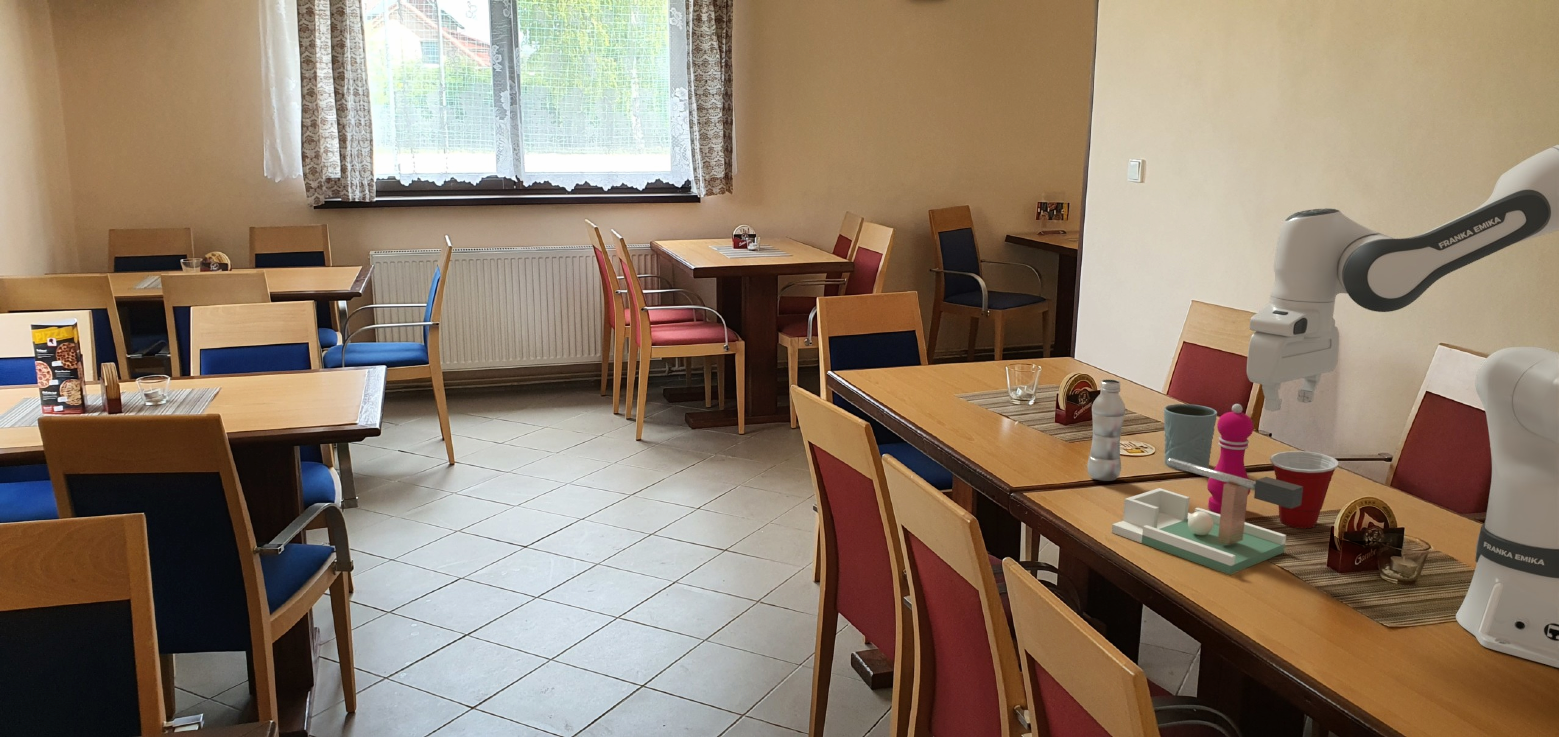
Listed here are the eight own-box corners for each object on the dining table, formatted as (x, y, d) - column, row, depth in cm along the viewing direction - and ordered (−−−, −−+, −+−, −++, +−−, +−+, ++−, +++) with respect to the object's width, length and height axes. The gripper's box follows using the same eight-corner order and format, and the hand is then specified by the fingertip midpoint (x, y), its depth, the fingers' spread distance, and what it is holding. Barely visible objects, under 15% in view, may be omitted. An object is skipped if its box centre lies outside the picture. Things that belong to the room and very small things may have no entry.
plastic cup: (1250, 512, 194) (1258, 449, 191) (1307, 511, 195) (1315, 448, 193) (1284, 534, 184) (1292, 468, 181) (1343, 533, 185) (1352, 467, 182)
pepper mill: (1251, 518, 191) (1263, 410, 187) (1209, 514, 193) (1220, 407, 189) (1243, 504, 198) (1254, 400, 194) (1201, 501, 200) (1212, 398, 195)
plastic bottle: (1124, 477, 213) (1132, 380, 209) (1114, 486, 208) (1122, 386, 203) (1091, 472, 217) (1099, 376, 212) (1081, 480, 211) (1089, 382, 207)
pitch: (1284, 552, 176) (1287, 520, 175) (1229, 574, 167) (1233, 541, 165) (1166, 513, 193) (1169, 484, 192) (1111, 532, 184) (1114, 502, 183)
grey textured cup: (1219, 473, 217) (1225, 416, 214) (1169, 472, 217) (1174, 415, 214) (1200, 458, 227) (1205, 403, 224) (1152, 457, 227) (1157, 403, 224)
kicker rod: (1296, 557, 168) (1304, 486, 165) (1282, 563, 166) (1291, 490, 163) (1169, 515, 186) (1175, 450, 183) (1155, 520, 183) (1161, 454, 181)
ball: (1217, 535, 179) (1219, 512, 178) (1203, 540, 176) (1205, 517, 176) (1195, 528, 182) (1197, 506, 181) (1181, 533, 180) (1184, 510, 179)
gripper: (1314, 308, 170) (1303, 393, 173) (1243, 319, 158) (1233, 410, 161) (1355, 314, 165) (1343, 401, 168) (1284, 326, 153) (1273, 419, 156)
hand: (1288, 405), depth 164 cm, fingers open, 8 cm apart
